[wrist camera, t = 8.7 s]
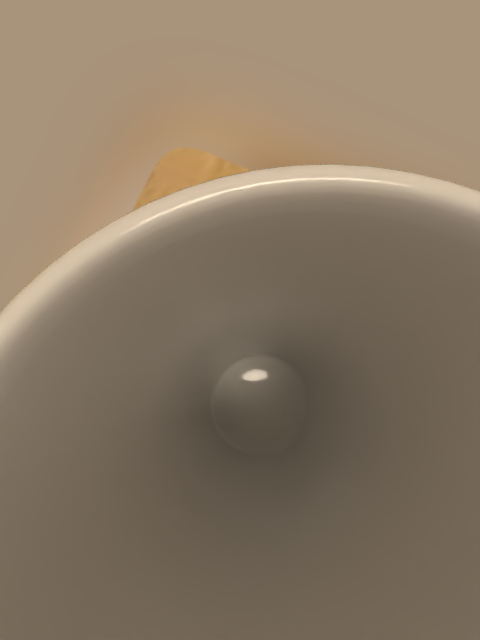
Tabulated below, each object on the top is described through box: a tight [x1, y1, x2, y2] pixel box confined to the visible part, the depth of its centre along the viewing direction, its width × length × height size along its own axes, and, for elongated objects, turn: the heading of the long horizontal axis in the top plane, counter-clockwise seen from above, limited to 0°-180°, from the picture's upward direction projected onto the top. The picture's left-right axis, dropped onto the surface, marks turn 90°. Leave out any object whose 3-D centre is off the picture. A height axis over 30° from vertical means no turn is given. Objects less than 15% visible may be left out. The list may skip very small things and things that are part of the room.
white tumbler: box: [0, 164, 480, 640], centre depth 9 cm, size 7×7×15 cm
